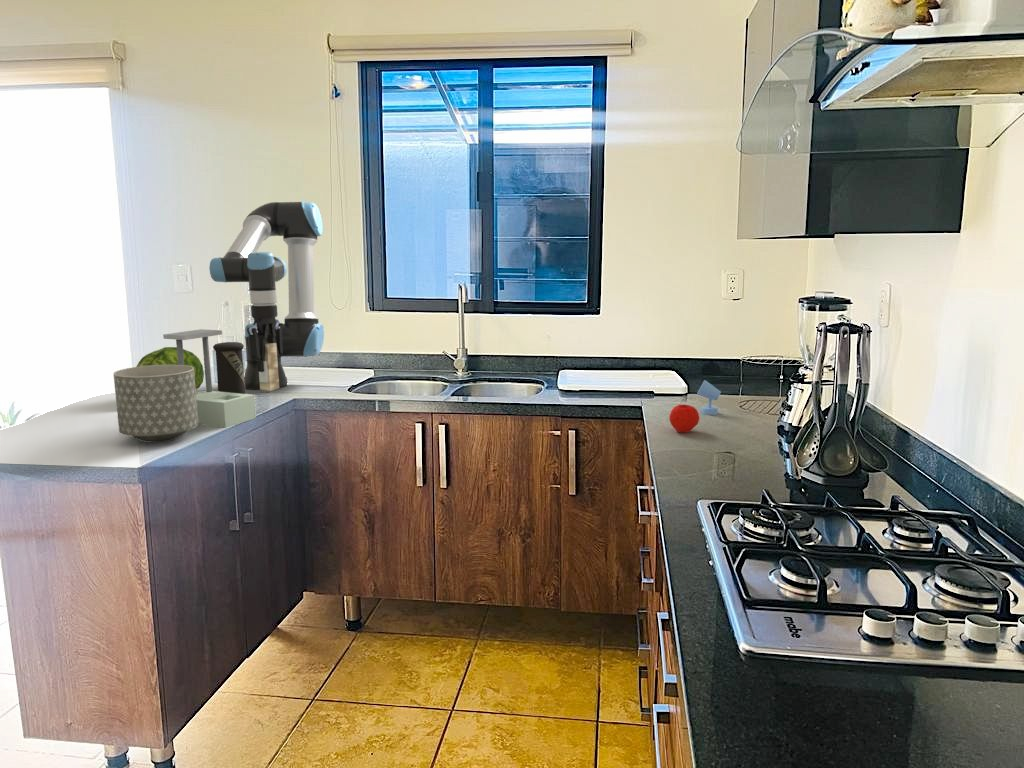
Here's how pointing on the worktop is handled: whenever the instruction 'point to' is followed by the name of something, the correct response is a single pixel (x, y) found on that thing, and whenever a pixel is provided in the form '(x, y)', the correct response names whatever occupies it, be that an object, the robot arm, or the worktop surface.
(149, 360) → the lettuce
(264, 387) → the peg
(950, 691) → the worktop surface
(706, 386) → the spotlight
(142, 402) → the planter
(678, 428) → the apple
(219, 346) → the container
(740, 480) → the worktop surface
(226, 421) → the socket station
